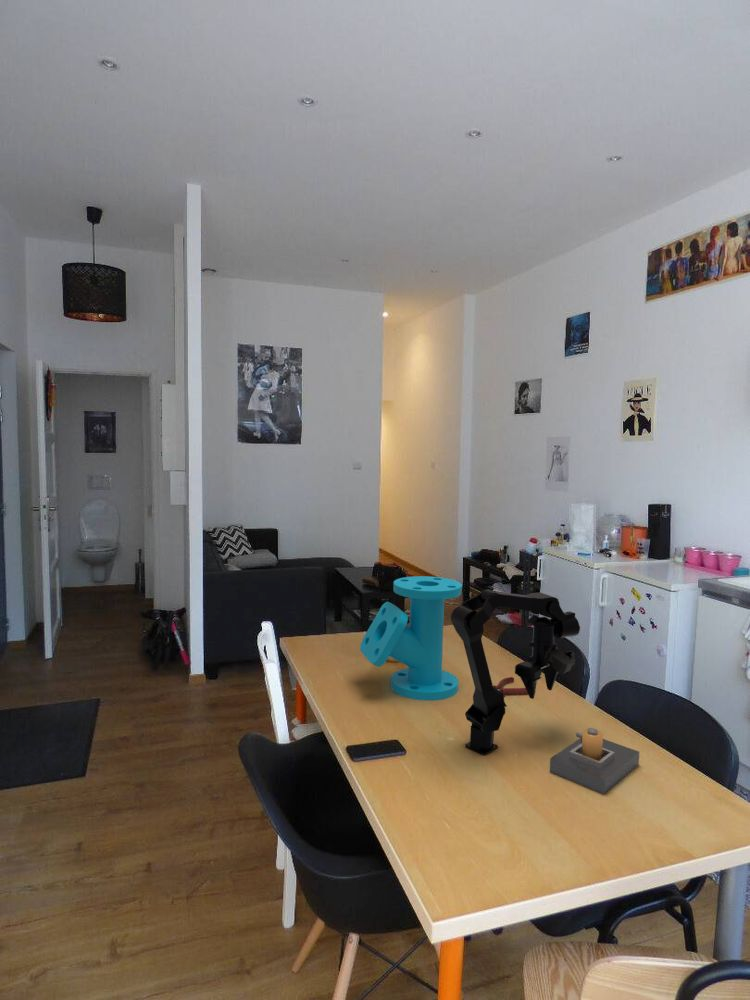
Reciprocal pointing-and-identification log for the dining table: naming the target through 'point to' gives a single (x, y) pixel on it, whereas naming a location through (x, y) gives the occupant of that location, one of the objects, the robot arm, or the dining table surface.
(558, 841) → the dining table surface
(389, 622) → the pipe fitting
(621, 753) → the sink basin plate
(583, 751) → the cylinder
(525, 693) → the pliers
